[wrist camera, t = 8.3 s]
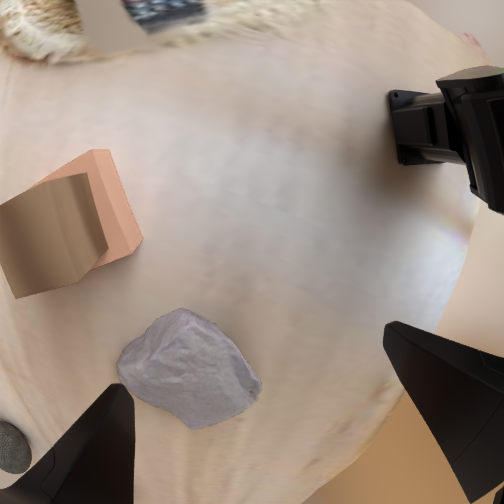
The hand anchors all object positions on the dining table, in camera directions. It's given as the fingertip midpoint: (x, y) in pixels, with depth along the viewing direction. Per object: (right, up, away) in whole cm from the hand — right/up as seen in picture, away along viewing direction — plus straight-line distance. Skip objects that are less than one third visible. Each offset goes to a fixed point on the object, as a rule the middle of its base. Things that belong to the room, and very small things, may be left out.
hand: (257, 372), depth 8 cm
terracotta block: (-12, +7, +10) cm, 17 cm away
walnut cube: (-12, +6, +7) cm, 15 cm away
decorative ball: (-42, -28, +18) cm, 53 cm away
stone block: (-5, -6, +16) cm, 18 cm away
